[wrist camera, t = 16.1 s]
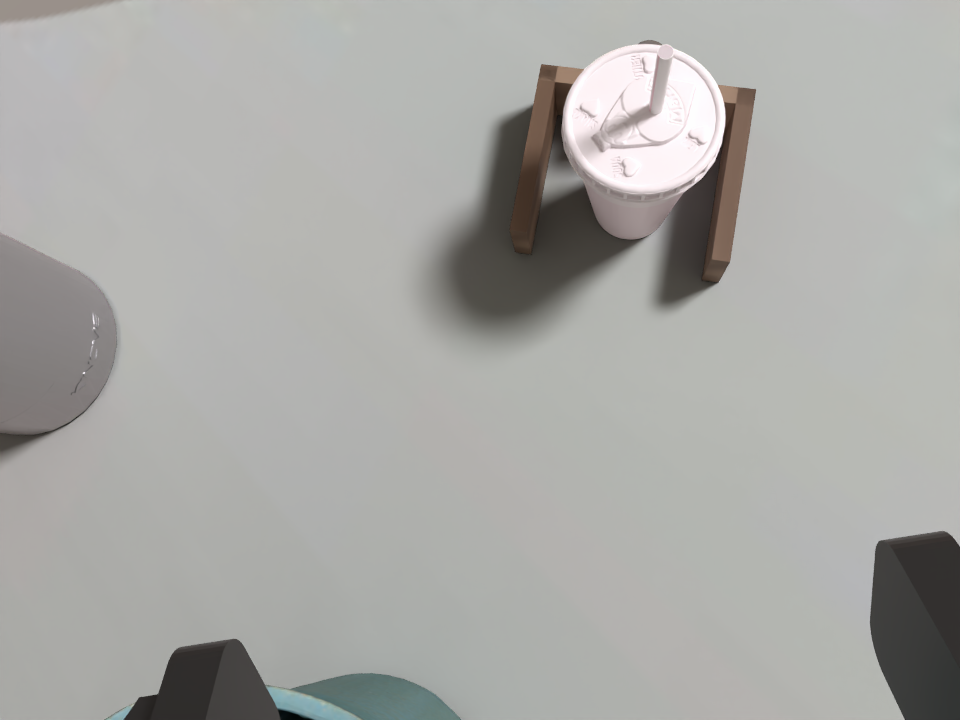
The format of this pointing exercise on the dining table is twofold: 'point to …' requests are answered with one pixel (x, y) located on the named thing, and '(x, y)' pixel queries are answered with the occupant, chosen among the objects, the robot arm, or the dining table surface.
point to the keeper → (538, 148)
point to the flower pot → (353, 700)
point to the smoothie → (641, 133)
